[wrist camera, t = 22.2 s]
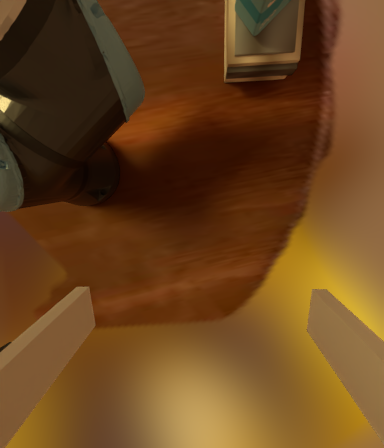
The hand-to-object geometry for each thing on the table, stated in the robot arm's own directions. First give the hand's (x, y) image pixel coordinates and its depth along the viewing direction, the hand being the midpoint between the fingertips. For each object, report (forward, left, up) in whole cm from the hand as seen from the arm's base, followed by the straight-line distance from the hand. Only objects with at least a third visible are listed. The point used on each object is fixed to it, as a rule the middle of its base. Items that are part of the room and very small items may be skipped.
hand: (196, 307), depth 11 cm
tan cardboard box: (+10, +33, -32) cm, 47 cm away
